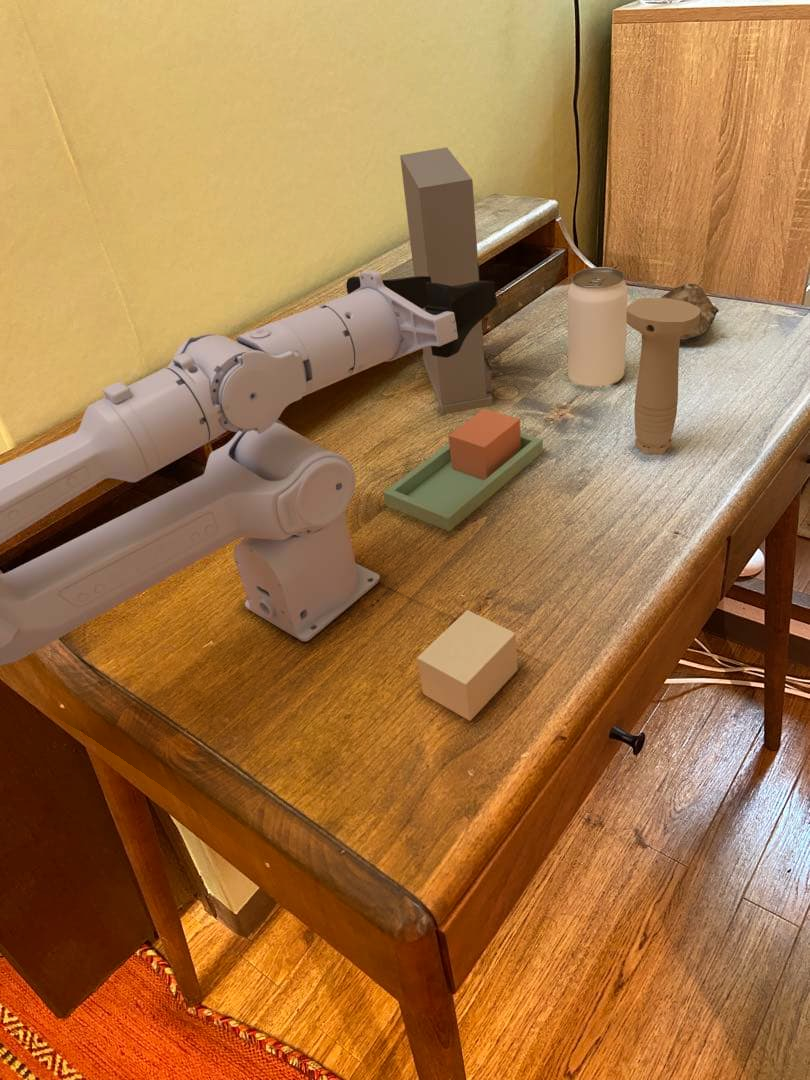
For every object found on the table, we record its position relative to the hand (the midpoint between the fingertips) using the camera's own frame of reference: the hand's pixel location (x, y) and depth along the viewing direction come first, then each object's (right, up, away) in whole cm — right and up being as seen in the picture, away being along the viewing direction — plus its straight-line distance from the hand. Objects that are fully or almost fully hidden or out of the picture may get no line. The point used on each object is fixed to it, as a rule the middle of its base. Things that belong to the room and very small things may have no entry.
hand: (460, 290), depth 69 cm
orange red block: (+4, -13, +15) cm, 20 cm away
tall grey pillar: (+2, -3, +30) cm, 30 cm away
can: (+18, -2, +28) cm, 33 cm away
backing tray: (+2, -15, +14) cm, 20 cm away
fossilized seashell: (+30, +5, +34) cm, 45 cm away
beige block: (0, -32, -7) cm, 33 cm away
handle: (+20, -12, +14) cm, 28 cm away
